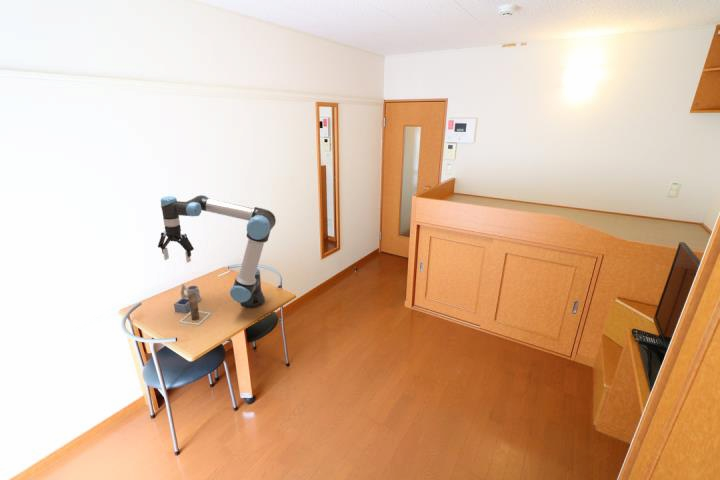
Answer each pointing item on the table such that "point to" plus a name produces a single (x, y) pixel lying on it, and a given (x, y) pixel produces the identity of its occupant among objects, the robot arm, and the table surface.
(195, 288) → the mug
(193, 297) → the dowel
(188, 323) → the tray
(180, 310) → the grey open box
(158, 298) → the table surface
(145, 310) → the table surface
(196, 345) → the table surface
